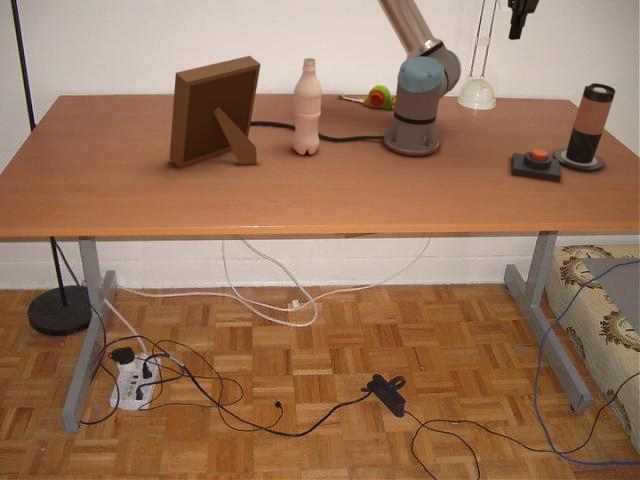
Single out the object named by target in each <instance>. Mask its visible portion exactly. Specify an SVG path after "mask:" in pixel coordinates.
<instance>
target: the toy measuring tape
mask: <svg viewBox="0 0 640 480" xmlns="http://www.w3.org/2000/svg"><path fill="white" fill-rule="evenodd" d="M338 98H339V99H340V100H341V99H344V100H349V101H353V102H359V103H361V104H362V105H363V106H366V107H371V108H375V109H382V110H386V111H390V110H391V109H392V108H393V107H395V99H396V95H393V96H392V97H391V91H390V90H389V88H388V87H386V86H385V85H382V84H378V85H377V84H376V85H375V86H374V87H372V88H371V89H370V91H368V95H367V97H366V98H365V99H364V98H362V99H361V98H352V97H347V96H346V94H345V93H344V92H341V93H340V94H339V95H338Z"/></svg>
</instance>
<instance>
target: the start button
mask: <svg viewBox="0 0 640 480" xmlns="http://www.w3.org/2000/svg"><path fill="white" fill-rule="evenodd" d="M531 151H532V153H531V158H532V159H534V160H537V161H545V160H546V158H547V155H548V152H547V151H545V150H543V149H540V148H535V149H532V150H531Z"/></svg>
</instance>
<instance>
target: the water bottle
mask: <svg viewBox="0 0 640 480" xmlns="http://www.w3.org/2000/svg"><path fill="white" fill-rule="evenodd" d="M316 63H317V61H316V59H315V58H311V57H307V58H306V57H305V58H304V59H303V65H302V68H301V70H302V74H301V75H300V77H299V79H298V80H297V82H296V84H295V87H294V90H293V93H294V99H293V100H294V101H293V113H294V118H295V119H294V121H295V126H296V127H295V129H294V134H293V138H292V140H291V141H292V142H291V143H292V147H293V149H294V151H296V153H298V154H300V155H303V156H304V155H305V154H306V152H308V154H309V155H313V154H315V153H316V151H317V150H318V147H319V144H320V137H318V133H319V132H318V130H319V129H318V124H319V118H320V116H321V115H322V111H321V109H322V95H323V89H322V88H323V87H322V86H321V84H320V81H319V79H318V77H317V74H316V71H317V65H316Z"/></svg>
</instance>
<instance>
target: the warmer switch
mask: <svg viewBox="0 0 640 480" xmlns="http://www.w3.org/2000/svg"><path fill="white" fill-rule="evenodd" d="M531 153H532V150H530V151H527V152H525V153H518V152H513V153H512V157H511V176H515V177H521V178H528V179H535V180H541V181H548V182H552V183H553V182H554V183H560V181H561V178H562V174H561V173H562V172H561V165H560V164H559V160H558V159H554V158H553V157H552V156H550V155H549V154H547V158H546V160H545V161H537V160H534V159H532V158H531Z"/></svg>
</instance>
